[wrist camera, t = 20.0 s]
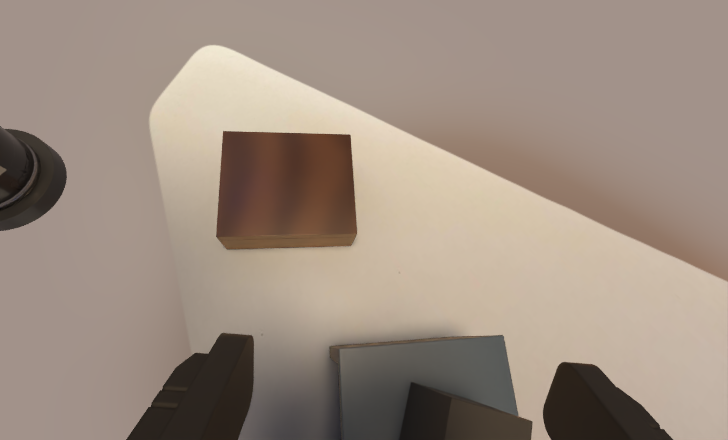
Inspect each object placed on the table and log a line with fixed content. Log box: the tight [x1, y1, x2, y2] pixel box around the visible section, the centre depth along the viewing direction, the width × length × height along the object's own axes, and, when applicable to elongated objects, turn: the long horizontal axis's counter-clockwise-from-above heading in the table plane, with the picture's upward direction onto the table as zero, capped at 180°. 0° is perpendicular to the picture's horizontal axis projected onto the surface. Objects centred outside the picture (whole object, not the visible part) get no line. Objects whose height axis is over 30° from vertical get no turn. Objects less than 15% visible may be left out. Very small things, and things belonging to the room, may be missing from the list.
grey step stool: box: [329, 335, 518, 440], centre depth 32 cm, size 14×12×11 cm
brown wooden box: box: [216, 131, 357, 249], centre depth 40 cm, size 14×12×5 cm
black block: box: [399, 382, 532, 440], centre depth 23 cm, size 5×5×8 cm
